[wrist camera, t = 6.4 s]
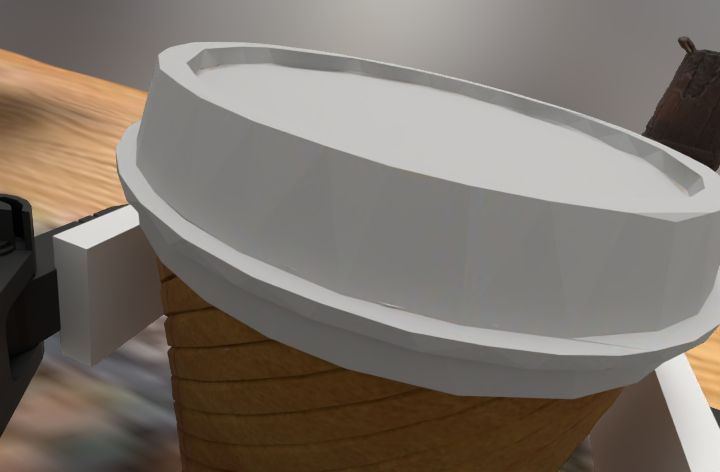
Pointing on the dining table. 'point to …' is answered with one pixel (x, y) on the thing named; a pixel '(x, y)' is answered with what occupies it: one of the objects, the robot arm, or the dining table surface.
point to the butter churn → (691, 108)
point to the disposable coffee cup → (405, 262)
